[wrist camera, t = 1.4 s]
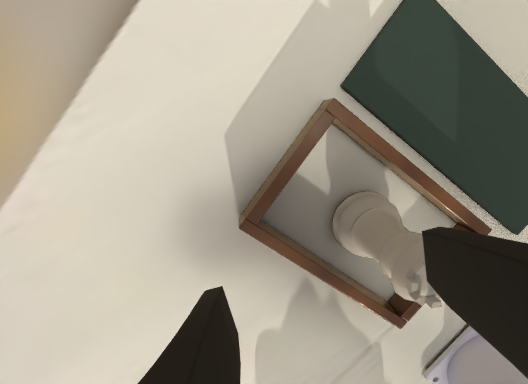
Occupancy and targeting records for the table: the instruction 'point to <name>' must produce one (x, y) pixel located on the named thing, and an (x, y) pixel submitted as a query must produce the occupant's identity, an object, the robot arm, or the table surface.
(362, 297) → the desk tray
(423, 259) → the rook chess piece
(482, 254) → the robot arm
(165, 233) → the table surface
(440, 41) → the desk mat
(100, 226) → the table surface
